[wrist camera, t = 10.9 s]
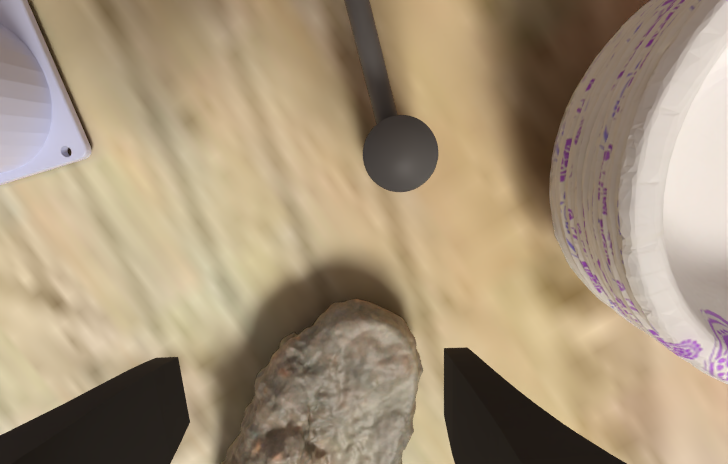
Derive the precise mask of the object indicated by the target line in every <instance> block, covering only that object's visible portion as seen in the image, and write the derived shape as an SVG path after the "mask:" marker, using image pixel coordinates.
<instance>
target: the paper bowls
mask: <svg viewBox="0 0 728 464" xmlns="http://www.w3.org/2000/svg"><path fill="white" fill-rule="evenodd" d="M549 197H550V207H551V212H552V221H553V227H554V233H555V237H556V239H557V241H558V242H559V245H560V247H561V249H562V252H563V253H564V256H565V258H566V260H567V262H568V264H569V266H570V267H571V268H572V270H573V271H574V272H575V273H576V274H577V276H578V277H579V278H580V279H581V280H582V282H583V283H584V284H585V285H586V286H587V287H588V288H589V290H590V291H591V292H592V293H593V294H594V295H595V296H596V297H597V298H598V299H599V300H601V301H602V302H603V303H605V304H606V305H608V306H609V307H610V308H612V309H613V310H614V311H615V312H616V313H618V314H619V315H620V316H622V317H623V318H624V319H626V320H627V321H628V322H630V323H631V324H633V325H634V326H636V327H637V328H639V329H641V330H642V331H644V332H645V333H647V334H648V335H649V336H651V337H652V338H653V339H655V340H656V341H658V342H659V343H661V344H662V345H664V346H665V347H666V348H667V349H669V350H670V351H672V352H673V353H675V354H676V355H677V356H678V357H680V358H681V359H683V360H685V361H687V362H688V363H690V364H692V365H693V366H694V367H695V368H697V369H698V370H700V371H702V372H703V373H705V374H707V375H709V376H711V377H713V378H715V379H717V380H719V381H721V382H723V383H725V384H728V0H650V1H649V2H647V3H646V4H645V5H644V6H642V7H641V8H640V9H639V10H638V11H637V12H636V13H635V14H634V15H632V16H631V17H630V18H629V19H628V20H627V21H626V22H625V23H624V24H623V25H622V26H621V28H620V29H619V30H618V31H617V32H616V34H615V35H614V36H613V37H612V38H611V39H610V40H609V41H608V43H607V44H606V45H605V46H604V47H603V49H602V50H601V51H600V52H599V54H598V55H597V56H596V58H595V59H594V60H593V62H592V63H591V65H590V66H589V68H588V70H587V71H586V73H585V75H584V76H583V78H582V79H581V81H580V82H579V84H578V86H577V88H576V89H575V91H574V93H573V94H572V97H571V99H570V101H569V103H568V105H567V107H566V110H565V113H564V116H563V118H562V121H561V124H560V127H559V131H558V134H557V137H556V140H555V144H554V149H553V154H552V165H551V171H550V190H549Z"/></svg>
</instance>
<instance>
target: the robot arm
mask: <svg viewBox="0 0 728 464" xmlns="http://www.w3.org/2000/svg"><path fill="white" fill-rule="evenodd" d="M68 148H70V149H71V152H72V153H71V156H70V155H69V154H68ZM90 154H91V146H90V144H89V141H88V139H87V137H86V135H85V132H84V130H83V128H82V125H81V123H80V121H79V118H78V116H77V114H76V112H75V109H74V107H73V105H72V102H71V100H70V98H69V95H68V93H67V91H66V89H65V86H64V84H63V82H62V79H61V77H60V75H59V72H58V70H57V68H56V66H55V63H54V61H53V59H52V56H51V54H50V52H49V49H48V47H47V45H46V43H45V40H44V38H43V36H42V33H41V31H40V29H39V26H38V24H37V22H36V19H35V17H34V15H33V13H32V10H31V8H30V6H29V3H28V1H27V0H0V185H2V184H5V183H9V182H12V181H15V180H18V179H22V178H25V177H28V176H31V175H35V174H38V173H41V172H44V171H48V170H51V169H54V168H57V167H61V166H64V165H67V164H70V163H74V162H77V161H80V160H83V159H86V158H88V157H89V156H90ZM444 417H445V422H446V427H447V432H448V437H449V441H450V446H451V451H452V455H453V458H454V461H455V464H626V463H625V462H623V461H621V460H620V459H618V458H616V457H614V456H613V455H611V454H609V453H608V452H606V451H605V450H603V449H601V448H600V447H598V446H597V445H595V444H593V443H592V442H590V441H589V440H587V439H585V438H584V437H582V436H581V435H579V434H577V433H576V432H575V431H573V430H572V429H570V428H569V427H567V426H566V425H564V424H563V423H561V422H560V421H558V420H557V419H556V418H554V417H553V416H551V415H550V414H549V413H547V412H546V411H545V410H543V409H542V408H540V407H539V406H538V405H536V404H535V403H534V402H532V401H531V400H530V399H528V398H527V397H526V396H525V395H523V394H522V393H521V392H520V391H518V390H517V389H516V388H515V387H513V386H512V385H511V384H510V383H508V382H507V381H506V380H505V379H504V378H502V377H501V376H500V375H499V374H498V373H496V372H495V371H494V370H493V369H492V368H491V367H489V366H488V365H487V364H486V363H485V362H484V361H483V360H481V359H480V358H479V357H478V356H477V355H476V354H474V353H473V352H472V351H471V350H470V349H468V348H444ZM189 423H190V420H189V414H188V409H187V403H186V398H185V393H184V387H183V382H182V376H181V371H180V365H179V360H178V357H168V358H155V359H152V360H150V361H147V362H145V363H143V364H141V365H138V366H136V367H134V368H132V369H130V370H128V371H126V372H124V373H122V374H120V375H118V376H116V377H114V378H113V379H111V380H109V381H107V382H105V383H103V384H101V385H99V386H97V387H95V388H93V389H92V390H90V391H88V392H86V393H84V394H82V395H80V396H78V397H76V398H74V399H72V400H71V401H69V402H67V403H65V404H63V405H61V406H59V407H57V408H55V409H53V410H51V411H49V412H47V413H45V414H43V415H41V416H39V417H37V418H35V419H33V420H31V421H29V422H27V423H25V424H23V425H21V426H19V427H17V428H15V429H13V430H11V431H9V432H7V433H4V434H2V435H0V464H170V463H171V461H172V459H173V457H174V455H175V453H176V451H177V449H178V447H179V445H180V443H181V441H182V438H183V436H184V434H185V432H186V429H187V427H188V425H189Z"/></svg>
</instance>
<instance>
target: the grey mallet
mask: <svg viewBox="0 0 728 464" xmlns="http://www.w3.org/2000/svg"><path fill="white" fill-rule="evenodd" d="M345 4H346V8H347V12H348V16H349V19H350V23H351V27H352V31H353V35H354V39H355V43H356V46H357V50H358V54H359V58H360V62H361V66H362V70H363V73H364V77H365V81H366V85H367V89H368V93H369V97H370V100H371V104H372V108H373V112H374V116H375V120H376V124H377V125H376V126H374V128H373V129H372V130H371V131H370V133H369V134H368V136H367V138H366V140H365V144H364V148H363V161H364V165H365V168H366V171H367V173H368V174H369V176H370V177H371V179H372V180H373V181H374V182H375V183H376V184H377V185H379V186H380V187H382V188H384V189H386V190H389V191H394V192H406V191H410V190H413V189H416V188H418V187H419V186H421V185H422V184H424V183H425V182H426V181H427V180H428V179H429V178H430V176H431V175H432V173H433V171H434V169H435V167H436V164H437V160H438V145H437V141H436V138H435V136H434V134H433V133H432V131H431V130H430V128H429V127H428V126H427V125H426V124H425V123H423V122H422V121H421V120H419V119H417V118H414V117H411V116H407V115H397V111H396V107H395V103H394V99H393V95H392V91H391V87H390V83H389V79H388V75H387V71H386V67H385V63H384V59H383V55H382V50H381V46H380V42H379V38H378V34H377V30H376V26H375V22H374V18H373V14H372V10H371V6H370V2H369V0H345Z"/></svg>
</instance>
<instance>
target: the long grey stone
mask: <svg viewBox="0 0 728 464" xmlns="http://www.w3.org/2000/svg"><path fill="white" fill-rule="evenodd" d="M422 372H423V368H422V365H421V360H420V356H419V353H418V352H417V349H416V340H415V337H414V336H413V334H412V333H411V332H410V330H409V328H408V326H407V324H406V322H405V321H404V320H403V319H402V318H401V317H400V316H398V315H396V314H394V313H392V312H391V311H389V310H386V309H384V308H381V307H380V306H379V305H377V304H373V303H370V302H368V301H364V300H359V299H350V300H347V301H345V302H338V303H333V304H332V305H331V306H330V307H329V308H328V309H327V310H326V311H325V312H324V313H322V314H321V315H320V316H319V317H318V319H317V320H316V321H315V323H314V324H313V326H311V327H307V328H305V329H304V330H303V331H302V332H301V333H300V334H296V333H295V332H293V333H292V334H291V335H287V336H286V337H285V338H283V339H282V340H281V342H280V344H279V349H278V350H277V351H276V352H275V353H274V354H273V355H272V357H271V360H270V362H269V364H268V365H267V366H266V367H265V368H263V369H262V370H261V371H260V372H259V373H258V374H257V376H256V380H255V387H254V390H255V395H254V397H253V400H252V402H251V403H250V404H249V405H248V406H247V407H246V409H245V416H244V419H243V421H242V422H241V432H240V434H239V435H238V437H237V438H236V439H235V440H234V442H233V443H232V444H231V446H230V447H229V448H228V450H227V455H226V459H225V461H224V462H222V463H220V464H402V459H401V458H402V452H403V450H405V448H406V446H407V444H408V442H409V440H410V438H411V435H412V434H413V432H414V429H413V415H414V413H415V409H416V401H415V398H416V393H417V390H418V382H419V379H420V376H421V374H422Z"/></svg>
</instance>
